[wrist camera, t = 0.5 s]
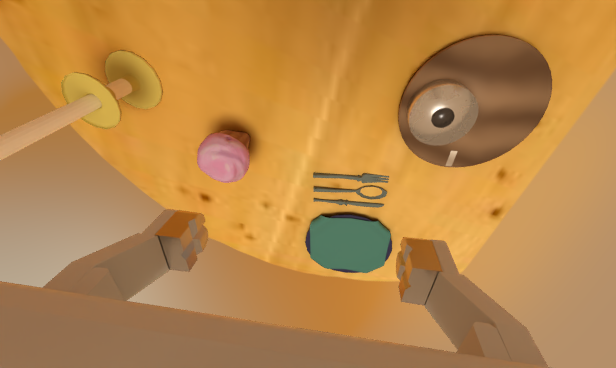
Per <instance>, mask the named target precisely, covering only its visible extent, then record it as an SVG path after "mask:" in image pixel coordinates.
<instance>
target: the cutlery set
mask: <svg viewBox="0 0 616 368" xmlns="http://www.w3.org/2000/svg"><path fill="white" fill-rule="evenodd" d="M378 177H388V178H389V176H383V175H374V174H367V173H363V174H362V176H360V175H358V176H352V175H341V174H324V173H314V174H313V178H344V179H353V180H357V181H361V182H362V183H372V182H386V183H388V181H381V180H389V179H386V178H378ZM364 187H375V186H364ZM364 187H362V188H364ZM362 188H360V189H362ZM377 188H379V187H377ZM360 189H357V190H348V189H332V188H322V187H314V192H315V191H316V192H356V193H357V194H358V195H360V196H361V197H363V198H367V199H380V198H383V197H385V196H386V194H387V192H386V191H385V190H383V189H382V188H380V189H381V190H382V194H381V195H379V196H376V197H368V196H364V195H363V194H362V193H360ZM314 201H321V202H329V203H337V204H339V205H343V204H345V205H346V206H347V204H350V205H355V206H364V207H382V206H384V204H379V203H366V202H353V201H348V200H345V201H343V200H342V199H341V200H336V201H334V200H321V199H315V198H314ZM390 237H391V234H390V231H389V230H388V229H386V228H385V227H384V226H383V225H382V224H381V223H380V222H379V221H376V222H374V221H372V220H370V219H368V218H366V217H362V216H357V215H352V214H345V215H334V216H330V217H323V216H321V215H320V216H319V217H318V218H316V219H314V220H313V221H312V222H311V224H310V230H309V231H308V233H307V237H306V241H305V243H306V247H307V250H308V252H309V253H310V255H311V258H312V259H313V260H314V261H316V262H317V263H318V264H320V265H321V266H323V267H324V268H327V269H332V270H336V271H341V272H351V273H358V272H362V273H368V272H370V271H373V270H375V269H377V268H380V267H382V266H384V263H385V261H386V260H387V259H388V257H389V255H390V253H391V251H392V241H391V239H390Z"/></svg>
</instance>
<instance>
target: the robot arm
mask: <svg viewBox="0 0 616 368" xmlns="http://www.w3.org/2000/svg"><path fill="white" fill-rule="evenodd" d="M204 222H205V218H204V215H203V214H201V213H195V212H188V211H181V210H173V209H167V210H164V211H163V212H162V213H161V214H160V215H159V216H158V217H157V219H155V220H154V221H153V223H152V224H151V225H150V226H149V227H148V228H147V229H146V230H145V231H144V232H143V233H142V234H139V233H138V234H135V235H133V236H131V237H128V238H126V239H124V240H121V241H119V242H117V243H115V244H112V245H110V246H108V247H106V248H103V249H101V250H99V251H96V252H94V253H92V254H89V255H87V256H85V257H83V258H80V259H78V260H76V261H73V262H71V263H70V264H69V265H68V266H67V267H66V268H65V269H64V270H62V271H61V272H60V273H59V274H58V275H57V276H55V277H54V278H53V279H52V280H51V281H50V282H48V283H47V284H46V285H45V286H44V287H43V288H40V287H33V286H27V285H21V284H14V283H7V282H2V281H0V368H551V367H548V365H547V364H546V362H545V360H544V358H543V357H542V355H541V353H540V351H539V349H538V347H537V346H536V344H535V342H534V340H533V338H532V337H531V335H530V333H529V331H528V329H527V328H526V327H525V326H524V325H522V324H521V323H520V322H519V321H518V320H516V319H515V318H514V317H513V316H512V315H511V314H509V313H508V312H507V311H506V310H505V309H503V308H502V307H501V306H500V305H499V304H497V303H496V302H495V301H494V300H493V299H491V298H490V297H489V296H488V295H487V294H485V293H484V292H483V291H482V290H481V289H479V288H478V287H477V286H476V285H475V284H474V283H472V282H471V281H470V280H469V279H468V278H467V277H465V276H464V275H460V274H459V272H458V270H457V268H456V265H455V263H454V260H453V258H452V256H451V253H450V251H449V248H448V246H447V244H446V242H445V241H439V240H427V239H418V238H408V237H403V239H402V241H401V244H400V245H401V251H400V252H399V253H398V255H397V260H396V274H397V277H398V278H399V280H400V283H399V292H400V297H401V302H406V303H412V304H418V305H424V306H425V308H426V309H427V310H428V312H429V313H430V314H431V316H432V317H433V318H434V320H435V321H436V322H437V323H438V325H439V326H440V327H441V329H442V330H443V331H444V333H445V334H446V335H447V336H448V338H449V339H450V340H451V342H452V343H453V344H454V345H455V347H456V348H457V349H458V351H457V352H456V353H455V352H448V351H443V350H436V349H430V348H423V347H417V346H411V345H404V344H398V343H392V342H385V341H379V340H373V339H366V338H360V337H353V336H347V335H340V334H334V333H328V332H321V331H314V330H308V329H302V328H295V327H289V326H282V325H276V324H270V323H263V322H257V321H251V320H245V319H238V318H232V317H226V316H219V315H213V314H206V313H200V312H194V311H187V310H181V309H174V308H168V307H162V306H155V305H149V304H142V303H136V302H130V301H127V300H128V299H129V298H131V297H132V296H134V295H135V294H137V293H138V292H139V291H141V290H142V289H144V288H145V287H147V286H148V285H150V284H151V283H152V282H154V281H155V280H156V279H158V278H160V277H161V276H162V275H164V274H165V273H167V272H168V271H169V270H178V271H188V272H189V271H190V270H191V269H192V267H193V265H194V264H195V262H196V261H197V254H199V253H200V252H202V251H203V250H204V248H205V247H206V244H207V241H208V231H207V229H206V228H205V227H204V226H203V224H204Z"/></svg>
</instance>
